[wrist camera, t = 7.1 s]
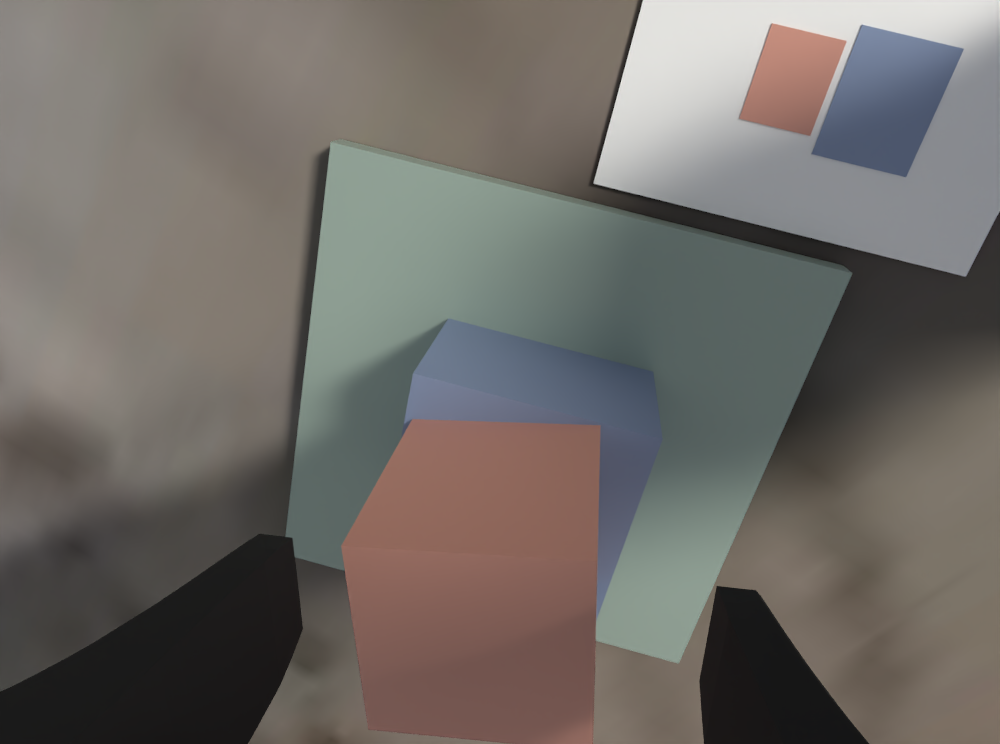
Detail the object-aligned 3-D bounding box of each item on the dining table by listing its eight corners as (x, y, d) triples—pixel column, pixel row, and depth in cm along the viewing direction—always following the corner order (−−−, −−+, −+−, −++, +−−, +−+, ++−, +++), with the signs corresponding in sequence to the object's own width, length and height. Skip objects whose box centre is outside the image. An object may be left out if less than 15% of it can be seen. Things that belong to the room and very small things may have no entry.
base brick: (653, 371, 20) (662, 439, 16) (595, 538, 23) (592, 629, 19) (448, 318, 20) (413, 373, 17) (413, 490, 23) (376, 569, 19)
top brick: (600, 425, 17) (596, 561, 12) (597, 581, 18) (592, 751, 14) (412, 419, 17) (341, 546, 13) (426, 570, 19) (368, 729, 14)
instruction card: (1117, -22, 16) (1121, -23, 16) (964, 275, 19) (966, 277, 19) (676, -124, 16) (676, -125, 16) (593, 183, 19) (593, 183, 19)
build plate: (843, 265, 19) (852, 273, 18) (676, 646, 25) (678, 663, 24) (340, 138, 20) (330, 141, 19) (292, 539, 25) (283, 553, 25)
